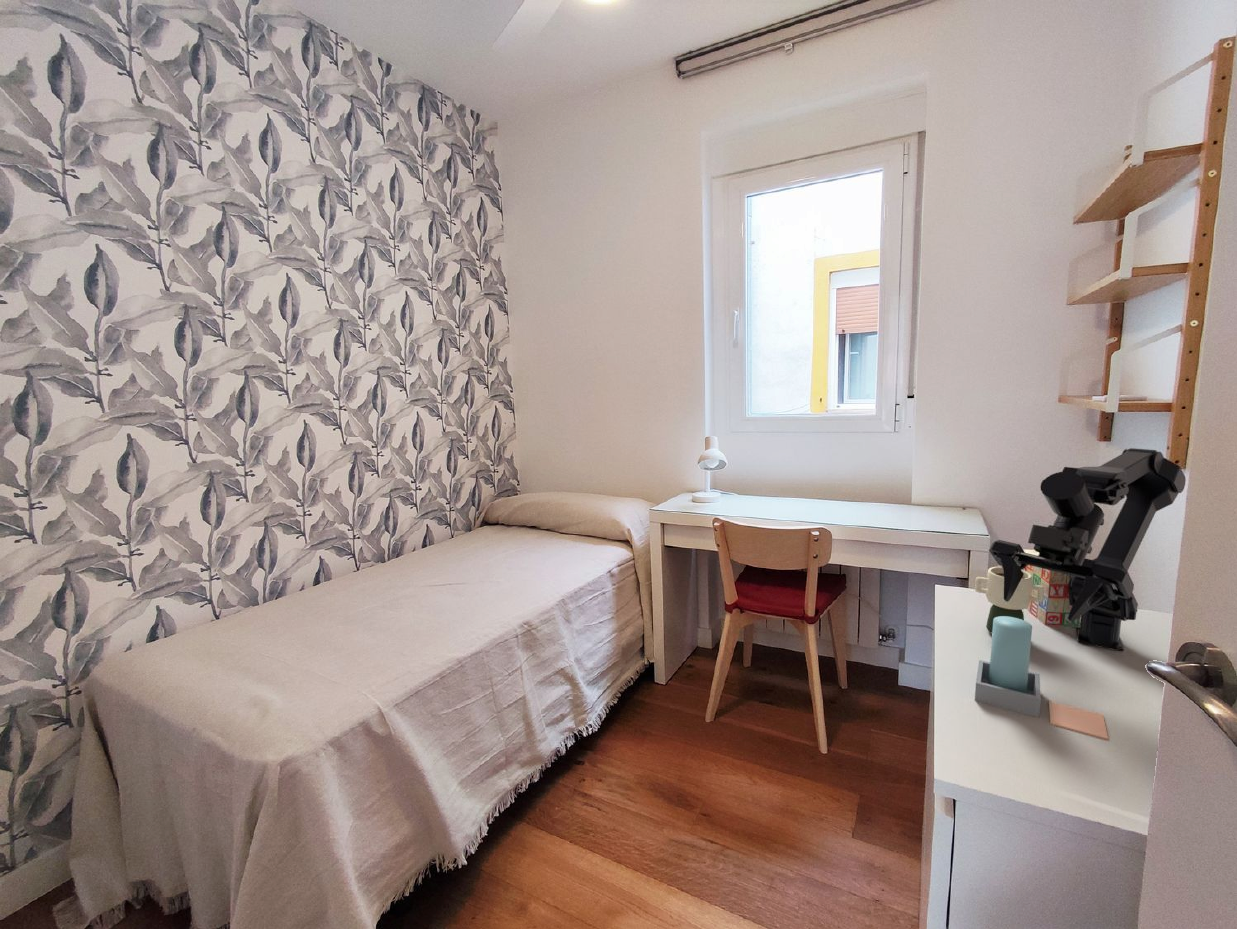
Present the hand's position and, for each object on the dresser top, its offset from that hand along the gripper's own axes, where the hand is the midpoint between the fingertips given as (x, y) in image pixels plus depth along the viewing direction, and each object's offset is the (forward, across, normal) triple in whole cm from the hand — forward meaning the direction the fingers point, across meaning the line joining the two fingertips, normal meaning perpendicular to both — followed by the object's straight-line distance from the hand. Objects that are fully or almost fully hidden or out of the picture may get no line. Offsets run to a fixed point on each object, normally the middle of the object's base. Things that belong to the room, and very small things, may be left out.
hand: (1036, 609), depth 89 cm
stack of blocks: (-13, -14, +34) cm, 39 cm away
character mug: (0, -11, +19) cm, 22 cm away
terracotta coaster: (+14, +9, +4) cm, 17 cm away
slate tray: (+15, 0, +3) cm, 15 cm away
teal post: (+15, 0, +3) cm, 15 cm away
